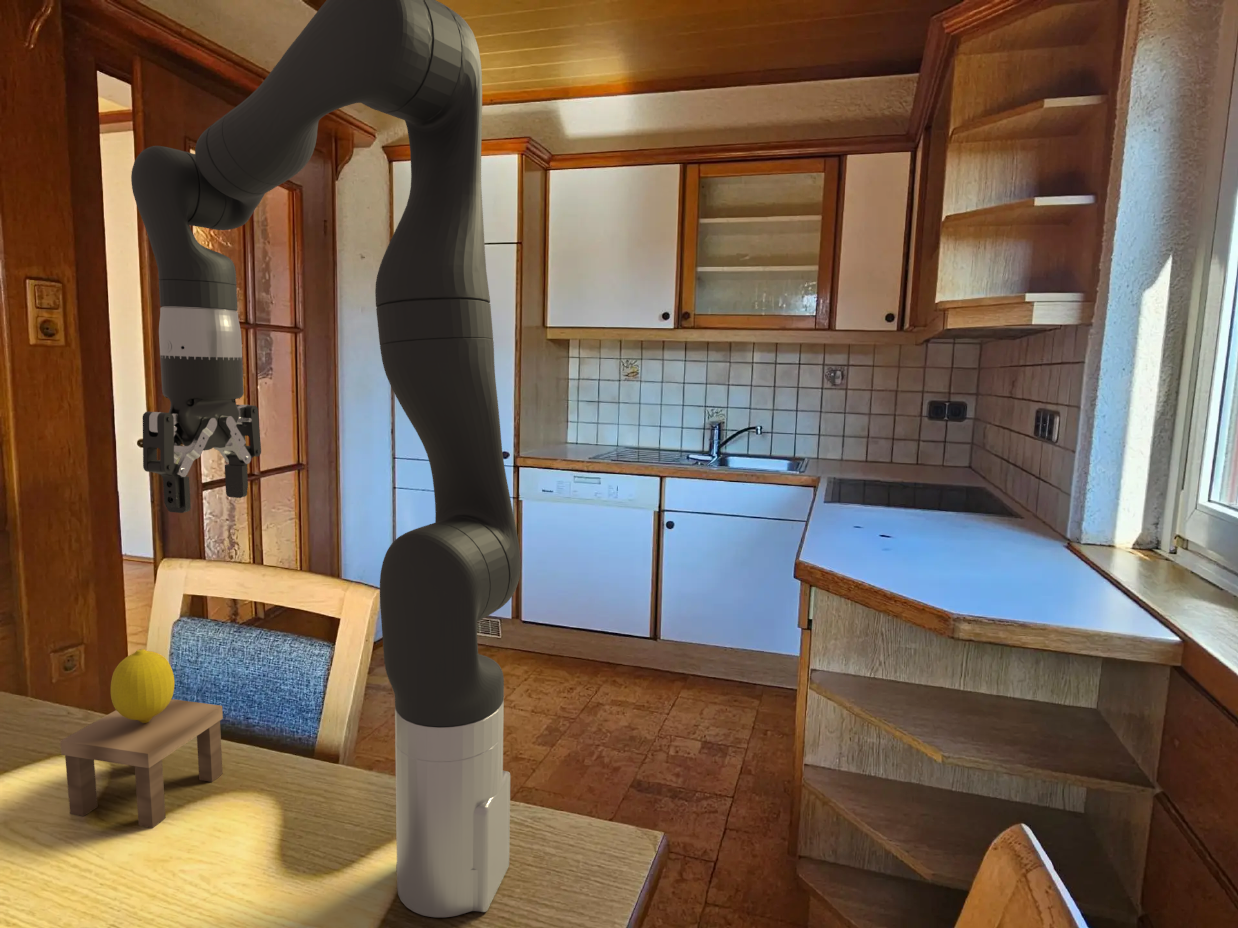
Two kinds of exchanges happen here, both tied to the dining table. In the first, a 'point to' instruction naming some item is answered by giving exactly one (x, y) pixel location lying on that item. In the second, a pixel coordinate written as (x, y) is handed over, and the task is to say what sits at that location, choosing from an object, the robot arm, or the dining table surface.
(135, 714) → the lemon
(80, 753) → the stool
